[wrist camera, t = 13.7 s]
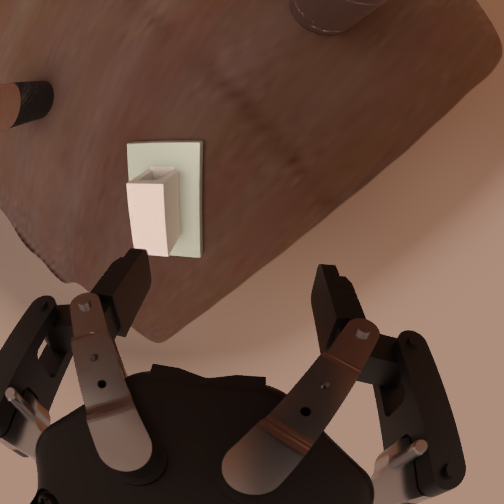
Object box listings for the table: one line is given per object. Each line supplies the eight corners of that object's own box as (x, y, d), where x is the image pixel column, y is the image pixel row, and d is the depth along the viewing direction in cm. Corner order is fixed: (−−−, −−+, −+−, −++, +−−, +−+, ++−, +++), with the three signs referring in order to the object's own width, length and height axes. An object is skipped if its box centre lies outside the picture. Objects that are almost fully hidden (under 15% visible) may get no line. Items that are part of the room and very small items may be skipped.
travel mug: (30, 81, 28) (-53, 97, 11) (57, 77, 29) (-34, 89, 12) (26, 120, 32) (-55, 149, 15) (52, 119, 33) (-37, 148, 15)
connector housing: (146, 170, 36) (126, 183, 30) (178, 170, 36) (163, 183, 30) (150, 232, 41) (134, 253, 35) (180, 234, 41) (168, 256, 35)
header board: (132, 141, 36) (117, 147, 31) (203, 140, 36) (194, 145, 31) (141, 246, 45) (130, 261, 40) (202, 251, 45) (196, 268, 41)
